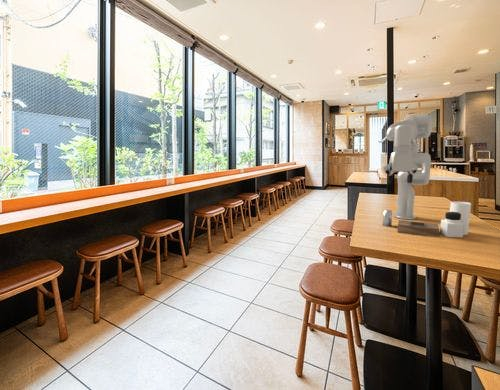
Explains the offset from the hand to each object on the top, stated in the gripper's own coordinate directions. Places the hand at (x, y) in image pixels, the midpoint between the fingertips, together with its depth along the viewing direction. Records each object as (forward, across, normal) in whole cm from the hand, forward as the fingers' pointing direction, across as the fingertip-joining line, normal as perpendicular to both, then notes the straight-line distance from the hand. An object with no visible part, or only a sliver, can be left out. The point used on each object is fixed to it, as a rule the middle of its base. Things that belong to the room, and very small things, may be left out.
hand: (399, 182), depth 132 cm
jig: (+27, -12, -2) cm, 29 cm away
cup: (+27, -31, 0) cm, 41 cm away
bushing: (+27, -2, -14) cm, 30 cm away
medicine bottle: (+27, -24, +6) cm, 37 cm away
